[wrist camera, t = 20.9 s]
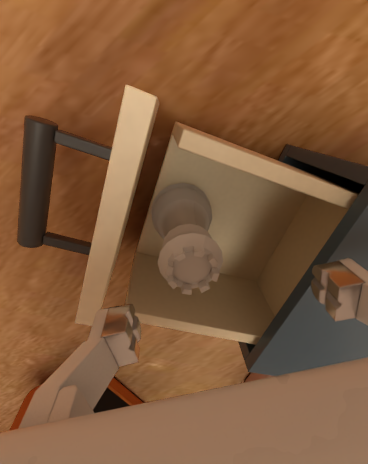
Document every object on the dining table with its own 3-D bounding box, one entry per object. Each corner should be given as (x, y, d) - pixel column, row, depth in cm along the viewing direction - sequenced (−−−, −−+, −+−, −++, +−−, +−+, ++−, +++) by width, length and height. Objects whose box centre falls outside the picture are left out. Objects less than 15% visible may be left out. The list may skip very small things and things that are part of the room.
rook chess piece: (165, 170, 17) (167, 215, 10) (220, 195, 18) (258, 251, 11) (142, 224, 18) (130, 295, 11) (194, 243, 20) (212, 319, 13)
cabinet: (217, 279, 24) (248, 372, 16) (286, 143, 19) (391, 172, 10) (341, 309, 27) (421, 399, 19) (429, 202, 22) (600, 261, 13)
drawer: (48, 238, 20) (-15, 308, 13) (69, 67, 15) (-15, 27, 8) (252, 287, 24) (289, 360, 17) (323, 167, 19) (417, 201, 12)
